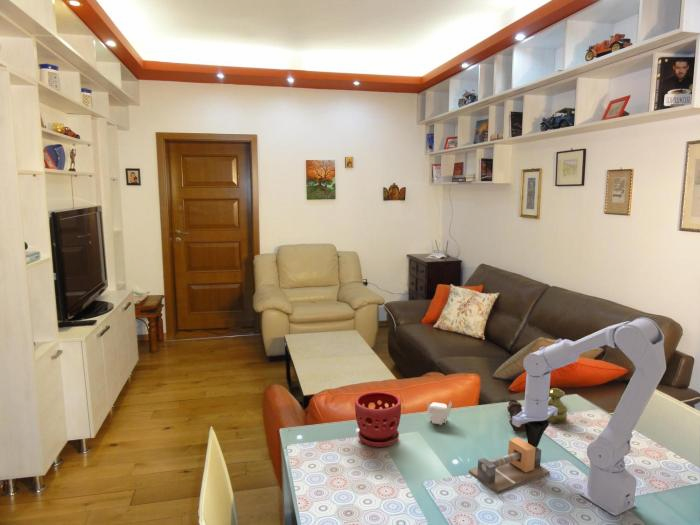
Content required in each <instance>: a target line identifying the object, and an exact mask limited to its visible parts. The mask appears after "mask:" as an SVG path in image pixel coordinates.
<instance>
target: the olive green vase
mask: <svg viewBox="0 0 700 525" xmlns="http://www.w3.org/2000/svg"><path fill="white" fill-rule="evenodd" d="M565 395H566V394H565V391H563V390H562V389H560V388H558V387H552V388H549V397H550V398H549V401H548V406H554V407H556V408H558V411H557V415H556V416H554V415H551V416H550V417H549V418H548V419H546V420H547V421H548V422H549V424H550V423H551V424H554V425H562V424H563V425H564V423H566V422H567V419H568V418H567V417H568V410H569V408H568V405H566V404H565V403H564V402H563V401H562V400H561V398H563V397H564V396H565Z"/></svg>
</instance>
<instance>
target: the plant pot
mask: <svg viewBox="0 0 700 525" xmlns="http://www.w3.org/2000/svg"><path fill="white" fill-rule="evenodd" d="M379 401H380V402H381V403H378V402H379ZM371 403H373V404H374V407H373V408H371V407H370V408H369V405H370V404H371ZM385 404H387V405H388V406H386V405H385ZM363 405H364V406H363ZM354 410H355V411H354V412H355V419H356V423H357V424H356V425H357V426H358V429H359V430H358V434H357V435H358V438H359V440H361V442H362V443H364V444H366V445H368V446H370V447H371V446H372V447H375V446H376V447H378V448H382V447H388V446H391V445H393V444H394V443H396V442H397V441H398V439H399V437H400V432H399V430H398V428H399V426H400V422H401V415H402V413H401V412H402V400H401V398H400V397H399V396H397V395H396V394H393V393H391V392H386V391H370V392H369V391H368V392H365V393H363V394H360V395H359V396H357V397H356V398H355V400H354Z"/></svg>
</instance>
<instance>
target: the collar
mask: <svg viewBox="0 0 700 525" xmlns="http://www.w3.org/2000/svg"><path fill="white" fill-rule="evenodd" d="M535 450H536V448H535V447H534V446H532V445H530V444H529V443H528V441H525V440H524V439H522V438H520V437H518V436H516V437H514V438H510V439H509V440H508V453H507V455H509V454H512V453H515V452H520V453H521V459H519V460H516V461H513V462H510V463H512V464H513V465H515V466H516V467H518V468H519V469H521V470H522V471H524V472H525V473H526V472H528V471H531V470H534V462H535Z"/></svg>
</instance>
